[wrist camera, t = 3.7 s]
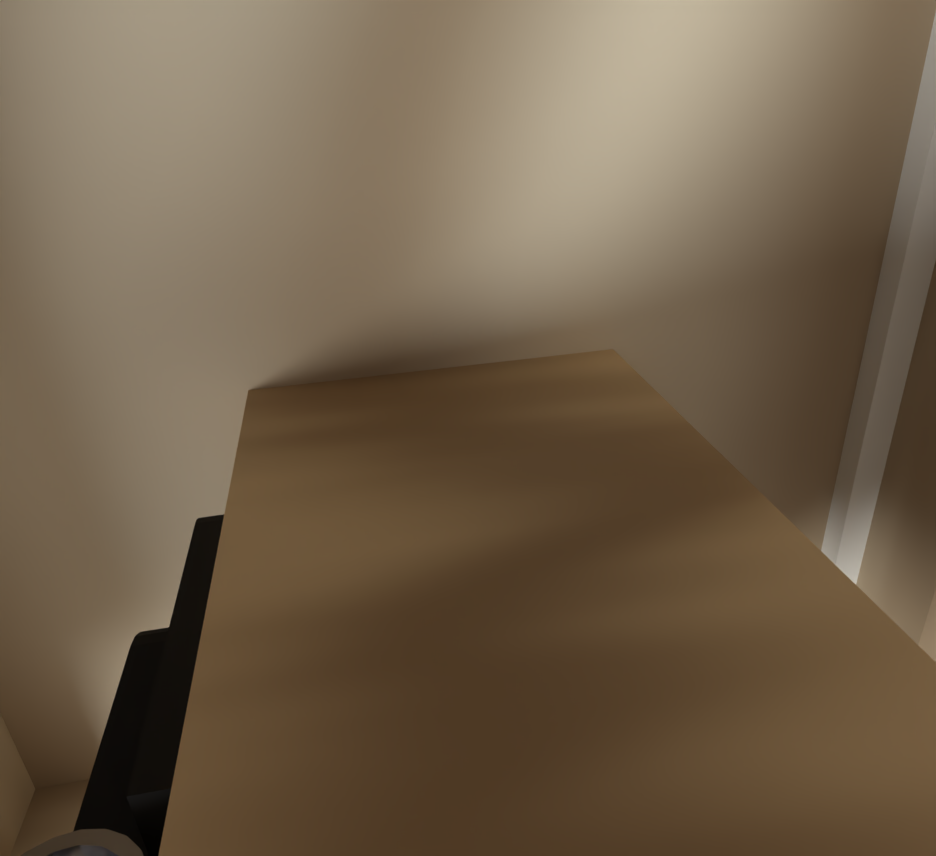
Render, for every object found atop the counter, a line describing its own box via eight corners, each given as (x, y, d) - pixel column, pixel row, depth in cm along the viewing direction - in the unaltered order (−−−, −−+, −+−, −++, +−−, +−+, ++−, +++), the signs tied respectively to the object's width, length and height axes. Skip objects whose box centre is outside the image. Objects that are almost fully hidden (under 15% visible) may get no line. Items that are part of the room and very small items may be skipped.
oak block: (613, 349, 10) (1242, 960, 3) (599, 622, 13) (957, 1327, 6) (248, 390, 10) (75, 1276, 3) (303, 672, 12) (291, 1554, 5)
